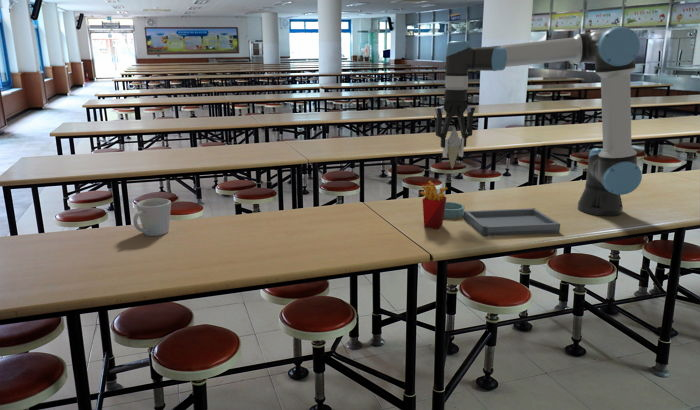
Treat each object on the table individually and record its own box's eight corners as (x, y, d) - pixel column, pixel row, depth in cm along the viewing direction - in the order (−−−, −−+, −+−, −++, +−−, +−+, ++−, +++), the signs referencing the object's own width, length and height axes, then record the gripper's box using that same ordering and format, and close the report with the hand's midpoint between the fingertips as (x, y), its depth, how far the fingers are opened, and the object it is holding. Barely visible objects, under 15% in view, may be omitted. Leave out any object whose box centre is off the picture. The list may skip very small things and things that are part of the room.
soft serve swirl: (459, 170, 191) (461, 126, 187) (444, 169, 192) (446, 126, 188) (459, 167, 196) (461, 124, 192) (445, 166, 197) (447, 124, 193)
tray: (533, 216, 196) (534, 208, 196) (559, 232, 179) (560, 224, 178) (463, 219, 193) (464, 211, 192) (483, 236, 175) (483, 227, 175)
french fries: (445, 224, 187) (448, 181, 182) (439, 231, 179) (441, 187, 175) (420, 221, 190) (422, 178, 186) (413, 228, 183) (414, 184, 179)
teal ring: (457, 209, 205) (458, 201, 204) (468, 217, 195) (468, 209, 194) (430, 210, 203) (430, 202, 202) (439, 218, 193) (439, 210, 192)
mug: (180, 229, 180) (177, 199, 178) (150, 244, 167) (147, 212, 164) (153, 225, 184) (150, 196, 181) (122, 240, 170) (118, 208, 167)
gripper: (477, 87, 191) (473, 153, 198) (427, 88, 189) (424, 155, 195) (485, 89, 184) (481, 157, 191) (433, 89, 182) (430, 159, 188)
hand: (452, 156), depth 193 cm, fingers closed on soft serve swirl, 5 cm apart
